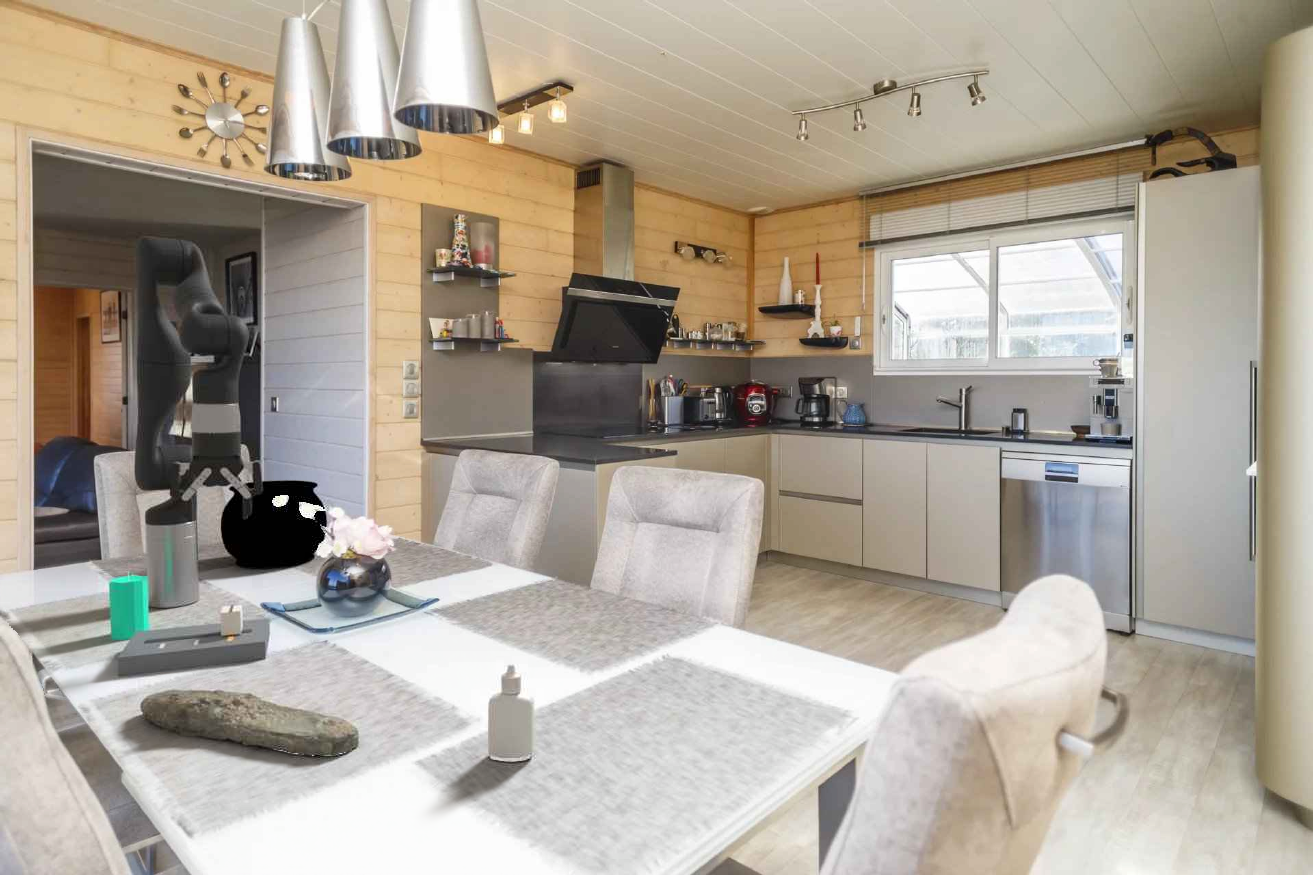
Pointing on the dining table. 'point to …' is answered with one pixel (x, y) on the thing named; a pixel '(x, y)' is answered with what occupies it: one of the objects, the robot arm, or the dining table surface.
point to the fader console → (193, 647)
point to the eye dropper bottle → (511, 719)
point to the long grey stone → (249, 721)
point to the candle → (128, 606)
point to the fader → (231, 620)
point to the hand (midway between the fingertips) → (218, 519)
